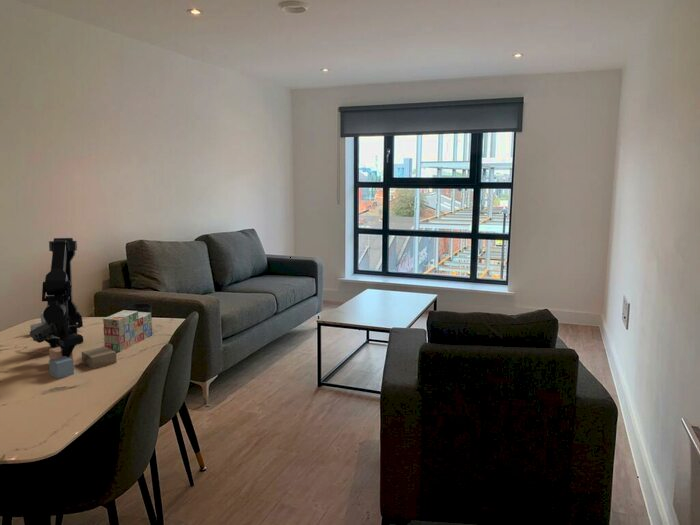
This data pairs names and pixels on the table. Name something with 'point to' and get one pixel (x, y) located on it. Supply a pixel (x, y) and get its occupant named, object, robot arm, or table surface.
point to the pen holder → (140, 307)
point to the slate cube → (61, 367)
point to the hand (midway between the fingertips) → (61, 360)
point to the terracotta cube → (56, 353)
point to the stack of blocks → (126, 329)
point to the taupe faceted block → (99, 357)
